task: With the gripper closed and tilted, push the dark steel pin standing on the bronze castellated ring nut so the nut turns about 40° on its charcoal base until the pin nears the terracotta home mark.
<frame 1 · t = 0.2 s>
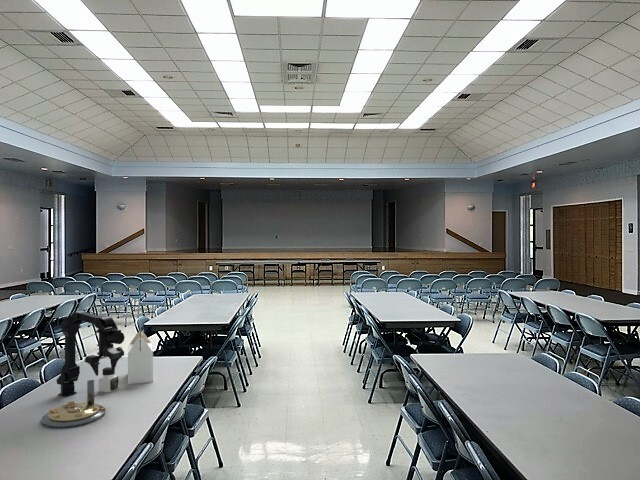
hand: (105, 373, 242), 14 cm above the table, tool pointing down, fingers open, 9 cm apart
gable box: (140, 378, 283), on the table
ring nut: (74, 399, 222), point 8 cm above the table, hinge at 0.0°
medicine bottle: (108, 390, 261), on the table
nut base: (74, 416, 223), on the table
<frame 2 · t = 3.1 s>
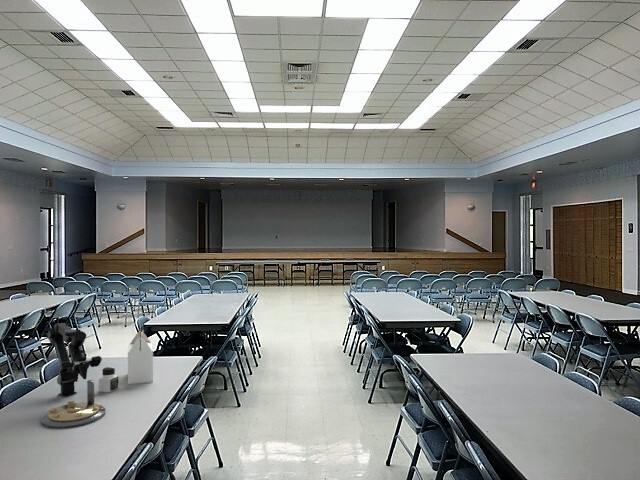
hand: (85, 378, 236), 13 cm above the table, tool tilted 45°, fingers closed
nothing on the table moved.
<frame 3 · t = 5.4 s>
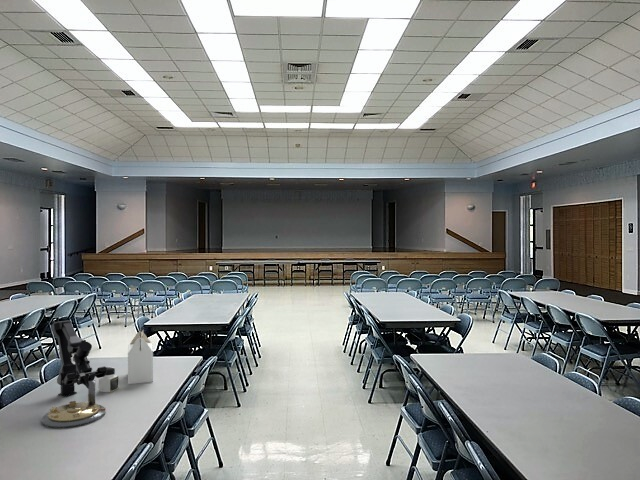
hand: (91, 390, 232), 9 cm above the table, tool tilted 45°, fingers closed, pressing on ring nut
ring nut: (74, 399, 222), point 8 cm above the table, hinge at 4.6°, touching gripper
everything else where it was.
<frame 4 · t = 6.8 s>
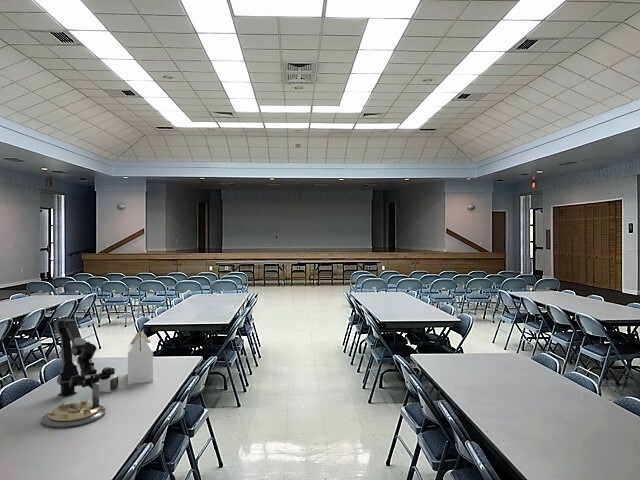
hand: (96, 392, 229), 9 cm above the table, tool tilted 45°, fingers closed
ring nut: (74, 399, 222), point 8 cm above the table, hinge at 35.1°, touching gripper
everything else where it was.
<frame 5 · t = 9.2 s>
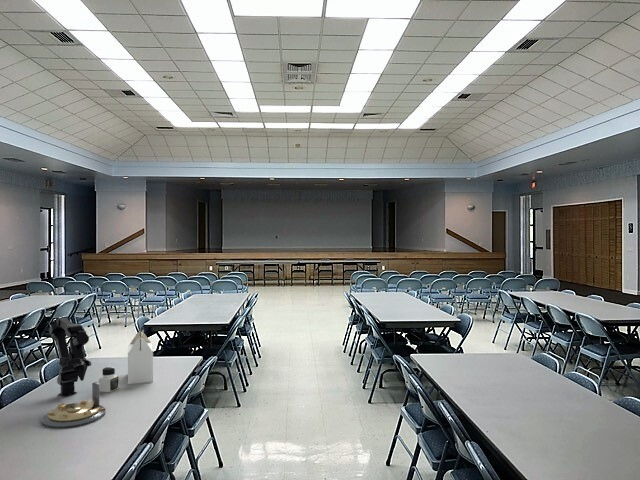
hand: (82, 380, 239), 12 cm above the table, tool tilted 25°, fingers closed
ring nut: (74, 399, 222), point 8 cm above the table, hinge at 35.2°
everything else where it was.
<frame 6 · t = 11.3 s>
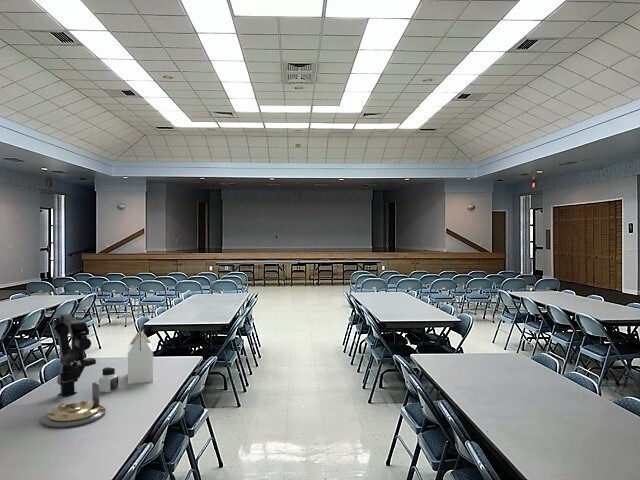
hand: (78, 377, 243), 12 cm above the table, tool pointing down, fingers closed
nothing on the table moved.
at the end: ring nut at +35° (first picture: +0°); medicine bottle moved 0.2 cm from its start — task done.
